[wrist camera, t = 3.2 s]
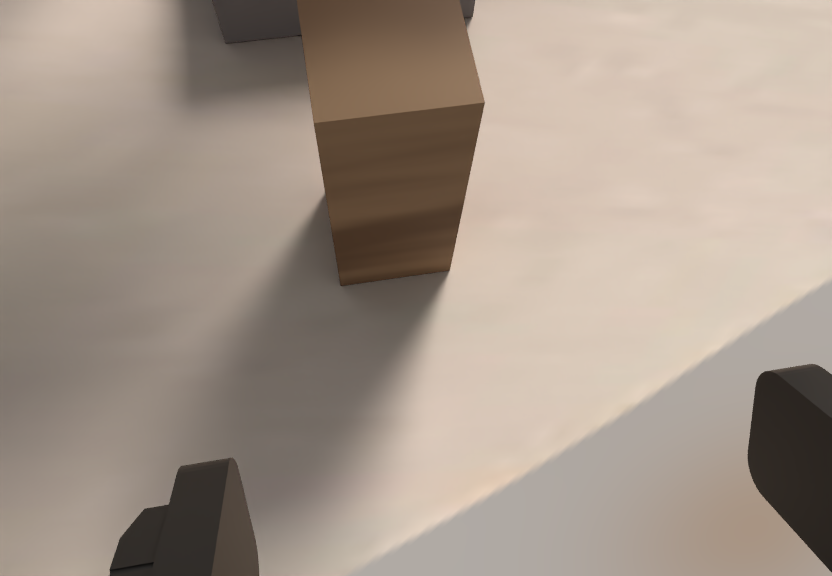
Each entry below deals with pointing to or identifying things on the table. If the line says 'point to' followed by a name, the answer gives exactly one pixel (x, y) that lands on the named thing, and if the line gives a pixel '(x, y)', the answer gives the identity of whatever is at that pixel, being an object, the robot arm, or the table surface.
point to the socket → (270, 18)
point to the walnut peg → (392, 129)
